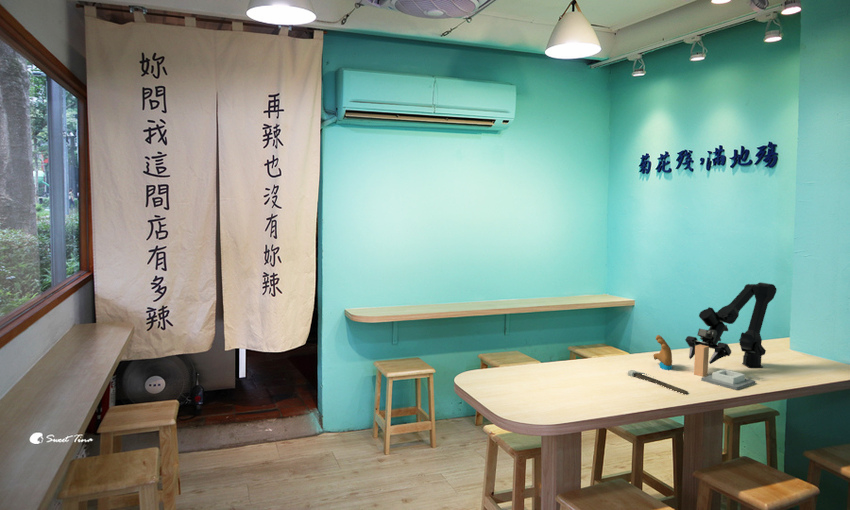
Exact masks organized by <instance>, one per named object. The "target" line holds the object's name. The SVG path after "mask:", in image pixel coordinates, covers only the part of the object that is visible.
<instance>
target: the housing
mask: <svg viewBox="0 0 850 510" xmlns="http://www.w3.org/2000/svg"><path fill="white" fill-rule="evenodd" d="M745 376H746V374H745V373H741V372H737V371H733V370H732V371H731V370H728V369H724V368H723V369H720V370H718V371H714V372H712V374H710V375H709V374H708V375H707V376H704V377H701V378H700V379H701V381H702V382H704V383H705V382H706V383H709V384H712V385H715V386H719V385H720V386H719V387H724V388H726V389H730V388H731V390H734V389H735V390H734V391H738V390H741V389H744V388H747V387H749V385H750V386H752V384H753V385H755V384H756V380H754V379H749V378H745ZM743 387H744V388H743Z"/></svg>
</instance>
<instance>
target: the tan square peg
mask: <svg viewBox="0 0 850 510" xmlns="http://www.w3.org/2000/svg"><path fill="white" fill-rule="evenodd" d="M709 350H710V348H709V346H705V345H697V346H695V355H694V367H693V375H694V376H699V377H701V378H703V377H706V376H709V356H710V355H709V352H710V351H709Z"/></svg>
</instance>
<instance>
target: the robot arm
mask: <svg viewBox="0 0 850 510" xmlns="http://www.w3.org/2000/svg"><path fill="white" fill-rule="evenodd" d="M777 289H778V288H777V287H776V285H775V284H773V283H767V282H758V283H751V284H750V283H747V284H745V285H744V288H743V289H742V290H741V291H739V293H738V294H737V295H736V296H735V298H734V299H733V300H732V301H730V303H728V304H727V305H723V306H722V307H721V308H720V309H718V311H715V310H714V308H713V307H709V306H708V308H706V309H703V310H702V311H700V312H699V313H698V314H699V315H698V317H699V319H700V320H701V321H702V322H703V323H704V325H706V326H707V327H709V328H708V329H703V328H699V329H698V331H697V337H700V338H699V339H700V340H698V338H697V337H695V336H691V335H688V336H686V338H685V339H684V340H685V342H686V344H687V345H688V347H689V357H688V358H689V359H690V360H691V359H693V358H694V357H695V346H697V345H705V346H709V349H713V350H714V352H713V353H712V356H711V357H710V359H709V360H708V364H710V365H712V364H713V363H715V362H716V361H718V360H720V359H722V358H724V357H725V358H726V357H730V356H731V354H732V350H731V348H730V345H729V344H728V343H726V342H725V343H724V342H721V341H722V339H721V337H722V335H723V333H724V332H729V328H728V325H726V324H729V325H732V324H734V323H735V322H736V321H737V319H738V318H739V313H740V311H741V310H742V309H743V308H744V307H745V305H746V304H747V303H749V301H750V300H751V299H752V298H753V297H754V299H755V303H754V307H753V310H752V313H751V317H750V321H749V325H748V328H747V330H746V331H745V332H741V333H740V338H739V340H738V341H739V345H740V349H741V352H744V354H743V355H742V363H741V365H743V366H745V367H747V368H753V369H754V368H755V369H756V368H757V369H758V368H760V369H762V368H764V366H762V356H765V355H766V351H767V350H766V349H765V347H764V346H763V345H762V340H763V339H762V335H761V330H762V327H763V323H764V320H765V316H766V312H767V309H768V305H769V303H770V302H772V300H774V298H775V296H776V293H777Z"/></svg>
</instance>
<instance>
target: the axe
mask: <svg viewBox="0 0 850 510" xmlns="http://www.w3.org/2000/svg"><path fill="white" fill-rule="evenodd" d="M642 374H645V372H641V371H637V370H634V369H630V370H628V371H627V376H629V377H631V376H635V377H634V378H638V379H640V378H641V380H644V379H645V380H644V381H647V380H648V382H650V381H651V383H653V382H654V384H656V383H657V384H656V385H658V386H661V385H662V386H661V387H663V386H664V387H663V388H665V387H666V389H668V388H669V389H668V390H670V389H672V390H671V391H673V390H674V391H673V392H675V391H677V392H676V393H678V392H680V393H679V394H681V393H683V394H682V395H685V394H687V395H688V393H689V391H688V390H686V389H683V388H679V387H677V386H675V385H672V384H670V383H667V382H665V381H662V380H659V379H656V378H654V377H651V376H648V375H647V374H648V373H646V375H642Z"/></svg>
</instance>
